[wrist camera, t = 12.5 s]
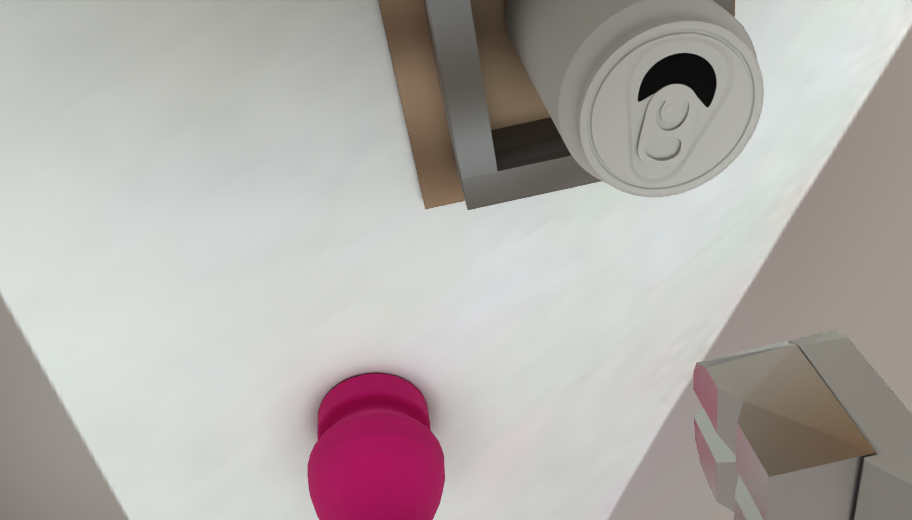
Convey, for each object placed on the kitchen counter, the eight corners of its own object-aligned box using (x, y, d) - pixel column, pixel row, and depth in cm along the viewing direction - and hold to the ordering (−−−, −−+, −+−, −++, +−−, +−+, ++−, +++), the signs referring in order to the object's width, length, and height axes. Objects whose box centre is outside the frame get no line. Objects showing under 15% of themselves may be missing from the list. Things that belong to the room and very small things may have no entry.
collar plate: (348, -136, 31) (350, -116, 27) (728, -216, 31) (789, -208, 27) (423, 199, 40) (434, 254, 35) (723, 134, 40) (769, 181, 36)
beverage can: (668, -68, 33) (809, 18, 23) (630, 82, 36) (738, 214, 26) (516, -87, 32) (594, -4, 22) (491, 70, 35) (549, 203, 25)
